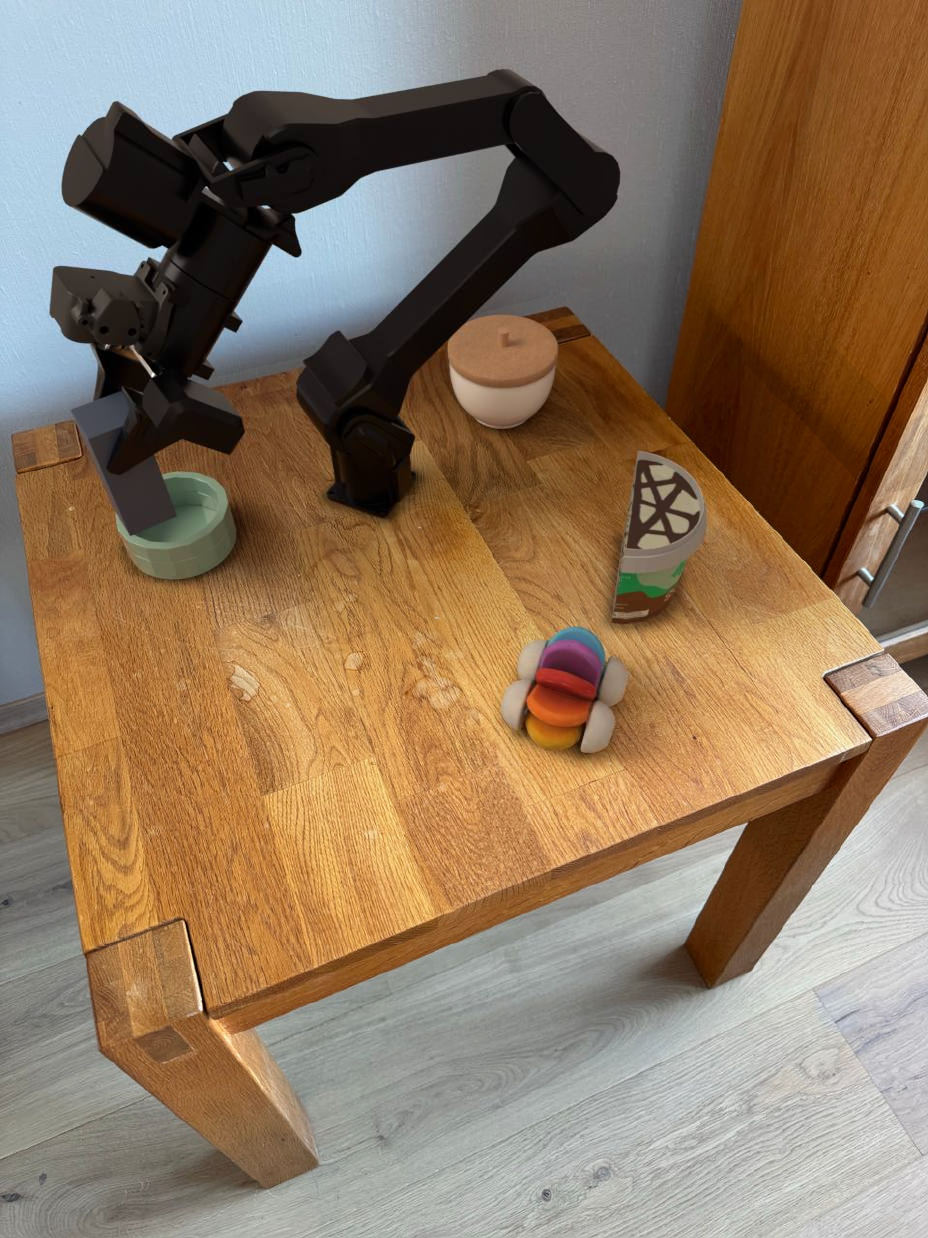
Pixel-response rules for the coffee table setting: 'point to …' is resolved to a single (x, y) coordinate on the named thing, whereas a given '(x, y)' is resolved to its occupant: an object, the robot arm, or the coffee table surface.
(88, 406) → the block
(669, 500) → the food container
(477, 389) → the trinket box
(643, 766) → the coffee table surface
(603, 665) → the rainbow wheeled toy
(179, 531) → the bowl
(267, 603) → the coffee table surface
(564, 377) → the coffee table surface
